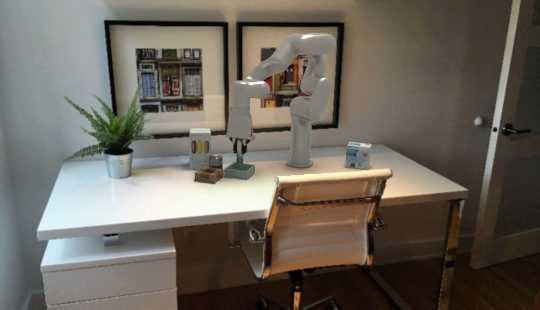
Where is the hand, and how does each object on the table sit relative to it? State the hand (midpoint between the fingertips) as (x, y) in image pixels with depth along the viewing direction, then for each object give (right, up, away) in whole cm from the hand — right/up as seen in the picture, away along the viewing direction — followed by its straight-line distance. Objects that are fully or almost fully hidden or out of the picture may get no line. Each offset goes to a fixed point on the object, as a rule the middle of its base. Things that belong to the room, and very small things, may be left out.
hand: (239, 152), depth 202 cm
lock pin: (0, -5, +1) cm, 5 cm away
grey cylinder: (-11, -8, +5) cm, 15 cm away
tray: (0, -9, +3) cm, 10 cm away
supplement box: (-19, -6, +13) cm, 24 cm away
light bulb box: (+54, -7, +19) cm, 57 cm away
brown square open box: (-13, -11, -3) cm, 17 cm away
